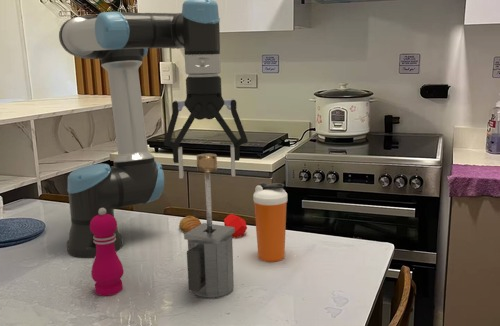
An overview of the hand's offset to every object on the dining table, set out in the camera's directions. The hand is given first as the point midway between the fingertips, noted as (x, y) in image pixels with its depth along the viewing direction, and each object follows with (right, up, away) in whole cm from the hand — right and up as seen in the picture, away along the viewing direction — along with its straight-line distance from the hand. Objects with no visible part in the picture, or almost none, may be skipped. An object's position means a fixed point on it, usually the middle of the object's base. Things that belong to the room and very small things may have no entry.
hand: (207, 176), depth 117 cm
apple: (+5, -19, +42) cm, 46 cm away
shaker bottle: (+15, -22, +24) cm, 36 cm away
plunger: (0, -15, +3) cm, 15 cm away
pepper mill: (-23, -27, +6) cm, 36 cm away
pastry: (-9, -18, +47) cm, 51 cm away
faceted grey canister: (0, -27, +4) cm, 27 cm away
